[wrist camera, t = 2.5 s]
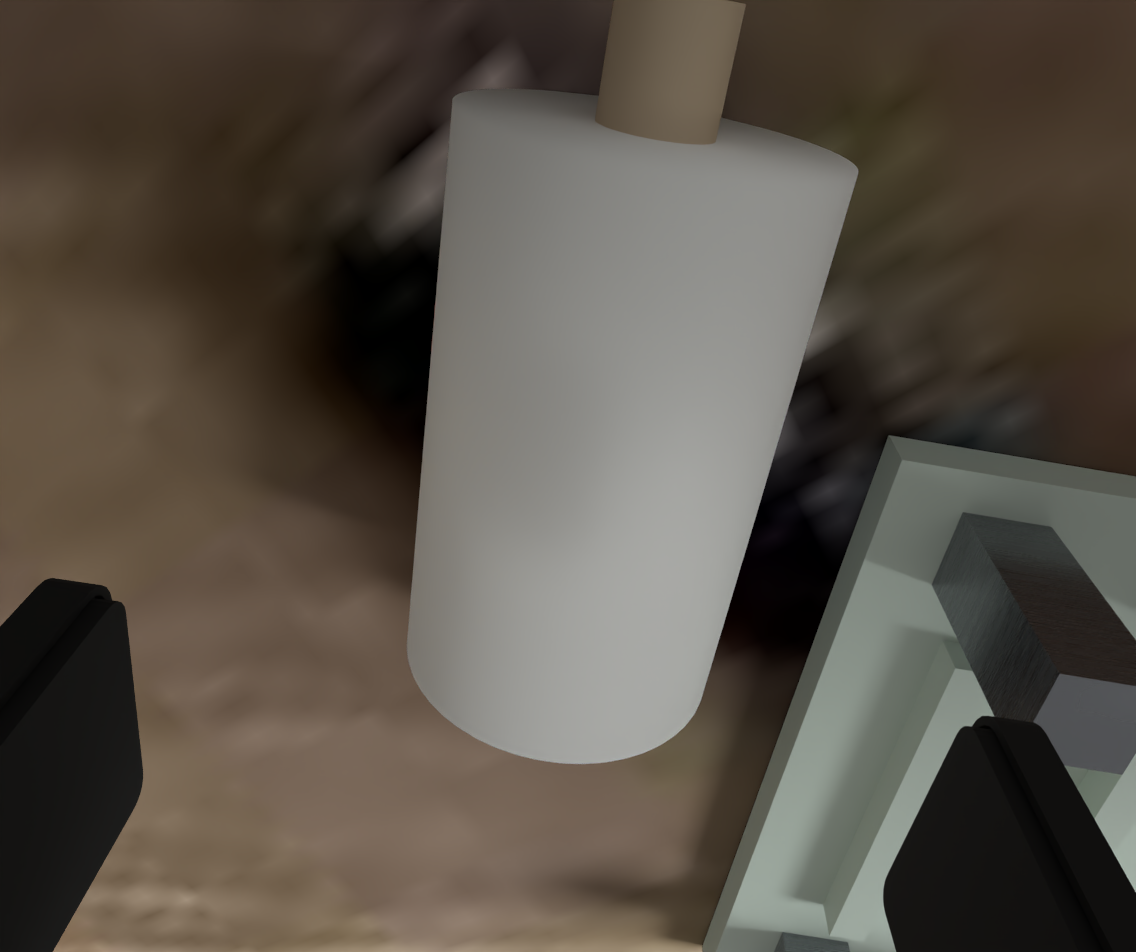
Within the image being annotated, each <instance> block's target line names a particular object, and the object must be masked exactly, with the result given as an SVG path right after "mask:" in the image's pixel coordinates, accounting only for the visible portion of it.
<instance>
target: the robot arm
mask: <svg viewBox="0 0 1136 952" xmlns="http://www.w3.org/2000/svg"><path fill="white" fill-rule="evenodd" d="M142 782H143V767H142V757H141V748H140V739H139V730H138V720H137V711H136V702H135V693H134V683H133V674H132V665H131V656H130V646H129V637H128V628H127V619H126V611H125V607H124V605H123V604H122V603H121V602H118V601H112V598H111V594H110V592H109V590H108V589H107V587H105V586H102V585H96V584H89V583H82V582H75V581H68V580H62V579H55V578H50V579H47V580H45V581H43V582H42V583H41V584H40V585H38V586H37V588H36V589H35V590H34V591H33V592H32V593H31V594H30V595H29V596H28V597H27V598H26V599H25V600H24V602H23V603H22V604H21V605H20V606H19V607H18V608H17V609H16V610H15V611H14V612H13V613H12V614H11V616H10V617H9V618H8V619H7V620H6V621H5V622H4V623H3V624H2V625H1V626H0V952H53V950H54V948H55V947H56V945H57V943H58V941H59V940H60V938H61V936H62V934H63V933H64V931H65V929H66V927H67V926H68V924H69V922H70V920H71V919H72V917H73V915H74V913H75V911H76V910H77V908H78V906H79V904H80V903H81V901H82V899H83V897H84V896H85V894H86V892H87V890H88V889H89V887H90V885H91V883H92V882H93V880H94V878H95V876H96V875H97V873H98V871H99V869H100V868H101V866H102V864H103V862H104V860H105V859H106V857H107V855H108V853H109V852H110V850H111V848H112V846H113V845H114V843H115V841H116V839H117V838H118V836H119V834H120V832H121V831H122V829H123V827H124V825H125V824H126V822H127V820H128V818H129V817H130V815H131V813H132V811H133V809H134V807H135V805H136V803H137V801H138V798H139V795H140V792H141V788H142ZM883 904H884V910H885V915H886V918H887V922H888V925H889V929H890V932H891V936H892V939H893V943H894V946H895V949H896V952H1136V892H1135V890H1134V888H1133V886H1132V885H1131V883H1130V881H1129V879H1128V878H1127V876H1126V874H1125V872H1124V870H1123V869H1122V867H1121V865H1120V863H1119V862H1118V860H1117V858H1116V856H1115V854H1114V853H1113V851H1112V849H1111V847H1110V846H1109V844H1108V842H1107V840H1106V839H1105V837H1104V835H1103V833H1102V831H1101V830H1100V828H1099V826H1098V824H1097V823H1096V821H1095V819H1094V817H1093V815H1092V814H1091V812H1090V810H1089V808H1088V807H1087V805H1086V803H1085V801H1084V800H1083V798H1082V796H1081V794H1080V792H1079V791H1078V789H1077V787H1076V785H1075V784H1074V782H1073V780H1072V778H1071V776H1070V775H1069V773H1068V771H1067V769H1066V768H1065V766H1064V764H1063V762H1062V761H1061V759H1060V757H1059V755H1058V753H1057V752H1056V750H1055V748H1054V746H1053V745H1052V743H1051V741H1050V739H1049V737H1048V736H1047V734H1046V733H1045V731H1044V730H1043V729H1042V727H1041V726H1039V725H1038V724H1036V723H1034V722H1027V721H1020V720H1014V719H1007V718H1000V717H993V716H981V717H980V718H978V719H977V720H976V721H975V723H974V724H973V725H972V727H971V726H964V727H962V728H961V729H960V730H959V732H958V733H957V735H956V737H955V739H954V741H953V743H952V745H951V747H950V749H949V751H948V753H947V755H946V757H945V759H944V761H943V763H942V765H941V767H940V769H939V771H938V773H937V775H936V777H935V779H934V781H933V783H932V785H931V787H930V789H929V791H928V793H927V795H926V797H925V799H924V801H923V803H922V805H921V807H920V809H919V812H918V814H917V816H916V818H915V820H914V822H913V824H912V826H911V828H910V830H909V832H908V834H907V836H906V838H905V840H904V842H903V844H902V846H901V848H900V850H899V852H898V854H897V856H896V858H895V860H894V862H893V864H892V866H891V868H890V870H889V872H888V874H887V877H886V879H885V883H884V888H883Z"/></svg>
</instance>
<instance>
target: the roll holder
mask: <svg viewBox="0 0 1136 952" xmlns="http://www.w3.org/2000/svg"><path fill="white" fill-rule="evenodd" d="M981 716H993V717H1000V718H1007V719H1014V720H1020V721H1027V722H1034V723H1036V724H1038V725H1039V726H1041V727H1042V729H1043V730H1044V731H1045V733H1046V734H1047V736H1048V737H1049V739H1050V741H1051V743H1052V745H1053V746H1054V748H1055V750H1056V752H1057V753H1058V755H1059V757H1060V759H1061V761H1062V762H1063V764H1064V766H1065V768H1066V769H1067V771H1068V773H1069V775H1070V776H1071V778H1072V780H1073V782H1074V784H1075V785H1076V787H1077V789H1078V791H1079V792H1080V794H1081V796H1082V798H1083V800H1084V801H1085V803H1086V805H1087V807H1088V808H1089V810H1090V812H1091V814H1092V815H1093V817H1094V819H1095V821H1096V823H1097V824H1098V826H1099V828H1100V830H1101V831H1102V833H1103V835H1104V837H1105V839H1106V840H1107V842H1108V844H1109V846H1110V847H1111V849H1112V851H1113V853H1114V854H1115V856H1116V858H1117V860H1118V862H1119V863H1120V865H1121V867H1122V869H1123V870H1124V872H1125V874H1126V876H1127V878H1128V879H1129V881H1130V883H1131V885H1132V886H1133V888H1134V890H1135V892H1136V476H1130V475H1124V474H1118V473H1112V472H1106V471H1100V470H1094V469H1088V468H1082V467H1076V466H1070V465H1064V464H1058V463H1052V462H1046V461H1040V460H1034V459H1028V458H1022V457H1016V456H1010V455H1004V454H998V453H992V452H986V451H980V450H974V449H968V448H963V447H957V446H951V445H945V444H939V443H933V442H927V441H921V440H915V439H909V438H903V437H897V436H891V435H888V438H887V441H886V444H885V446H884V449H883V452H882V455H881V457H880V460H879V463H878V466H877V468H876V471H875V474H874V477H873V479H872V482H871V485H870V488H869V490H868V493H867V496H866V499H865V501H864V504H863V507H862V510H861V512H860V515H859V518H858V521H857V523H856V526H855V529H854V532H853V534H852V537H851V540H850V543H849V545H848V548H847V551H846V554H845V556H844V559H843V562H842V564H841V567H840V570H839V573H838V575H837V578H836V581H835V584H834V586H833V589H832V592H831V595H830V597H829V600H828V603H827V606H826V608H825V611H824V614H823V617H822V619H821V622H820V625H819V628H818V630H817V633H816V636H815V639H814V641H813V644H812V647H811V650H810V652H809V655H808V658H807V661H806V663H805V666H804V669H803V672H802V674H801V677H800V680H799V683H798V685H797V688H796V691H795V693H794V696H793V699H792V702H791V704H790V707H789V710H788V713H787V715H786V718H785V721H784V724H783V726H782V729H781V732H780V735H779V737H778V740H777V743H776V746H775V748H774V751H773V754H772V757H771V759H770V762H769V765H768V768H767V770H766V773H765V776H764V779H763V781H762V784H761V787H760V790H759V792H758V795H757V798H756V801H755V803H754V806H753V809H752V812H751V814H750V817H749V820H748V822H747V825H746V828H745V831H744V833H743V836H742V839H741V842H740V844H739V847H738V850H737V853H736V855H735V858H734V861H733V864H732V866H731V869H730V872H729V875H728V877H727V880H726V883H725V886H724V888H723V891H722V894H721V897H720V899H719V902H718V905H717V908H716V910H715V913H714V916H713V919H712V921H711V924H710V927H709V930H708V932H707V935H706V938H705V940H704V943H703V946H702V950H703V952H896V949H895V946H894V943H893V939H892V936H891V932H890V929H889V925H888V922H887V918H886V915H885V910H884V904H883V888H884V883H885V879H886V877H887V874H888V872H889V870H890V868H891V866H892V864H893V862H894V860H895V858H896V856H897V854H898V852H899V850H900V848H901V846H902V844H903V842H904V840H905V838H906V836H907V834H908V832H909V830H910V828H911V826H912V824H913V822H914V820H915V818H916V816H917V814H918V812H919V809H920V807H921V805H922V803H923V801H924V799H925V797H926V795H927V793H928V791H929V789H930V787H931V785H932V783H933V781H934V779H935V777H936V775H937V773H938V771H939V769H940V767H941V765H942V763H943V761H944V759H945V757H946V755H947V753H948V751H949V749H950V747H951V745H952V743H953V741H954V739H955V737H956V735H957V733H958V732H959V730H960V729H961V728H962V727H964V726H971V727H972V725H973V724H974V723H975V721H976V720H977V719H978V718H980V717H981Z"/></svg>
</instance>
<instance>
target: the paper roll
mask: <svg viewBox="0 0 1136 952" xmlns="http://www.w3.org/2000/svg"><path fill="white" fill-rule="evenodd" d="M745 7H746V4H744V3H739V2H734V1H729V0H614V1H613V7H612V14H611V20H610V27H609V33H608V39H607V46H606V52H605V59H604V65H603V71H602V78H601V84H600V90H599V96H596V95H588V94H579V93H570V92H559V91H548V90H534V89H480V90H472V91H466V92H462V93H460V94H457V95H456V96H454V97H453V99H452V111H451V123H450V135H449V147H448V159H447V171H446V183H445V194H444V206H443V218H442V230H441V242H440V254H439V266H438V278H437V290H436V302H435V314H434V326H433V338H432V350H431V362H430V374H429V386H428V398H427V410H426V422H425V434H424V446H423V457H422V469H421V481H420V493H419V505H418V517H417V529H416V541H415V553H414V565H413V577H412V589H411V601H410V613H409V625H408V637H407V655H408V662H409V665H410V668H411V671H412V675H413V677H414V679H415V681H416V682H417V684H418V686H419V688H420V690H421V691H422V693H423V694H424V695H425V697H426V698H427V699H428V701H429V702H430V703H431V704H432V705H433V706H434V707H435V708H436V709H437V710H438V711H439V712H440V713H441V714H442V715H443V716H444V717H445V718H446V719H448V720H449V721H450V722H452V723H453V724H454V725H455V726H457V727H458V728H460V729H461V730H463V731H464V732H466V733H468V734H469V735H471V736H473V737H474V738H476V739H478V740H480V741H482V742H485V743H487V744H489V745H491V746H493V747H495V748H498V749H501V750H504V751H507V752H509V753H512V754H515V755H519V756H523V757H527V758H531V759H535V760H540V761H548V762H555V763H567V764H591V763H605V762H611V761H616V760H622V759H626V758H629V757H633V756H636V755H639V754H642V753H645V752H647V751H649V750H651V749H654V748H656V747H658V746H660V745H662V744H663V743H665V742H666V741H668V740H669V739H671V738H672V737H674V736H675V735H676V734H677V733H678V732H679V731H680V730H682V729H683V728H684V727H685V726H686V725H687V723H688V722H689V721H690V719H691V718H692V717H693V715H694V714H695V712H696V710H697V708H698V706H699V704H700V702H701V698H702V695H703V692H704V688H705V685H706V682H707V678H708V675H709V672H710V668H711V665H712V662H713V658H714V655H715V652H716V648H717V645H718V642H719V638H720V635H721V631H722V628H723V625H724V621H725V618H726V615H727V611H728V608H729V605H730V601H731V598H732V595H733V591H734V588H735V585H736V581H737V578H738V575H739V571H740V568H741V565H742V561H743V558H744V554H745V551H746V548H747V544H748V541H749V538H750V534H751V531H752V528H753V524H754V521H755V518H756V514H757V511H758V508H759V504H760V501H761V498H762V494H763V491H764V487H765V484H766V481H767V477H768V474H769V471H770V467H771V464H772V461H773V457H774V454H775V451H776V447H777V444H778V441H779V437H780V434H781V431H782V427H783V424H784V420H785V417H786V414H787V410H788V407H789V404H790V400H791V397H792V394H793V390H794V387H795V384H796V380H797V377H798V374H799V370H800V367H801V364H802V360H803V357H804V354H805V350H806V347H807V343H808V340H809V337H810V333H811V330H812V327H813V323H814V320H815V317H816V313H817V310H818V307H819V303H820V300H821V297H822V293H823V290H824V287H825V283H826V280H827V276H828V273H829V270H830V266H831V263H832V260H833V256H834V253H835V250H836V246H837V243H838V240H839V236H840V233H841V230H842V226H843V223H844V220H845V216H846V213H847V209H848V206H849V203H850V199H851V196H852V193H853V189H854V186H855V183H856V179H857V176H858V171H859V170H858V168H857V167H856V165H854V164H853V163H852V162H851V161H849V160H848V159H846V158H844V157H843V156H841V155H839V154H837V153H834V152H832V151H830V150H828V149H825V148H823V147H820V146H818V145H815V144H813V143H810V142H807V141H804V140H801V139H798V138H795V137H792V136H789V135H785V134H782V133H779V132H775V131H772V130H768V129H765V128H761V127H757V126H753V125H749V124H745V123H741V122H737V121H733V120H729V119H725V118H721V116H722V111H723V107H724V102H725V98H726V93H727V89H728V84H729V79H730V75H731V70H732V66H733V61H734V57H735V52H736V48H737V43H738V39H739V34H740V30H741V25H742V21H743V16H744V11H745Z"/></svg>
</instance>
